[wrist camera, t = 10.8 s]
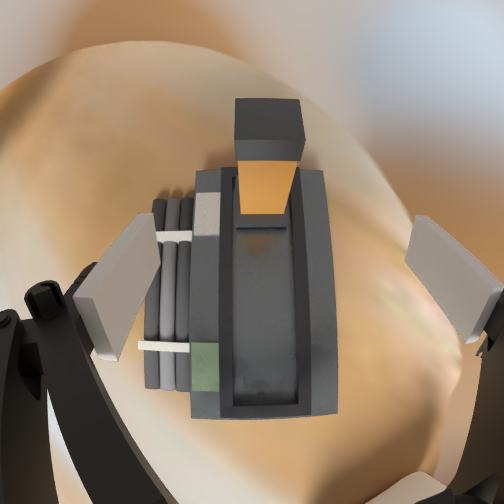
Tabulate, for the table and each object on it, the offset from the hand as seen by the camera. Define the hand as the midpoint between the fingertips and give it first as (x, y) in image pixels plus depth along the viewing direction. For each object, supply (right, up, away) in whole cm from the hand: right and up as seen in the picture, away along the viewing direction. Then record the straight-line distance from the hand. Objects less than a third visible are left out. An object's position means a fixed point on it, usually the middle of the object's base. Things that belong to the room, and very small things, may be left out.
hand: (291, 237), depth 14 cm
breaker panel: (-1, -4, +13) cm, 14 cm away
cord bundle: (-9, -4, +13) cm, 17 cm away
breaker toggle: (-1, +4, +12) cm, 12 cm away
